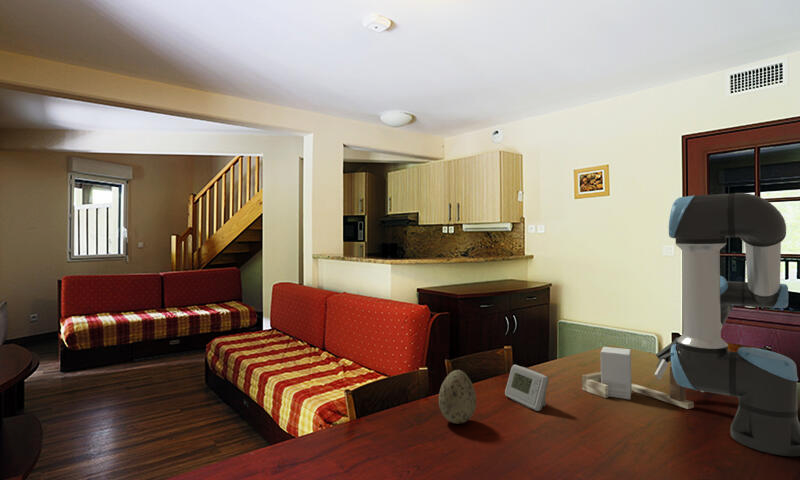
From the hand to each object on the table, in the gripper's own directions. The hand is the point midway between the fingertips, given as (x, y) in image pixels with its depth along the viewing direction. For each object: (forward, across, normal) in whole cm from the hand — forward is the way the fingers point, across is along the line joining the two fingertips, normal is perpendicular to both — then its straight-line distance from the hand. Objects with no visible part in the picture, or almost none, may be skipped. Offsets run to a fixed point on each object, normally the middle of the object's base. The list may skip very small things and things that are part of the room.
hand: (677, 383), depth 139 cm
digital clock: (+35, +23, +25) cm, 49 cm away
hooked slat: (+10, +10, +1) cm, 14 cm away
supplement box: (+11, +15, +1) cm, 19 cm away
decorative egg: (+55, +20, +45) cm, 74 cm away
